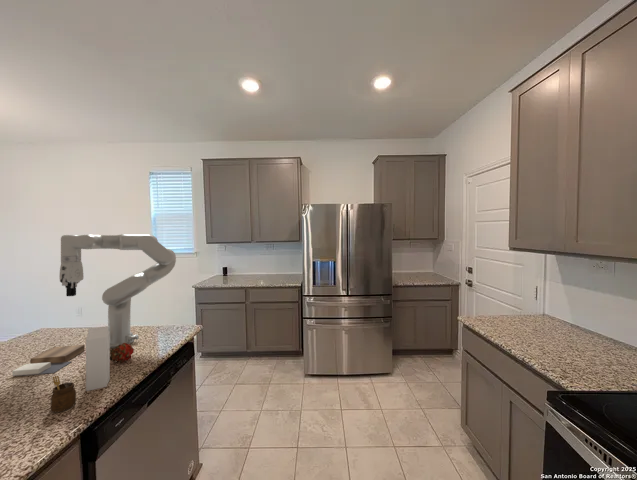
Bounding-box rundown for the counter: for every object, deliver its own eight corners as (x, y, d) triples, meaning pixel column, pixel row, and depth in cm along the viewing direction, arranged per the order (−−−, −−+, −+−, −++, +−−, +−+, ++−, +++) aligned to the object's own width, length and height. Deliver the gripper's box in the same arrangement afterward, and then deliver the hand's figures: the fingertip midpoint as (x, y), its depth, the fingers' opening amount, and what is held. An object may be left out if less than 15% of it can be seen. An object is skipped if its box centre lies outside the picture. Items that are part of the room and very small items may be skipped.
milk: (106, 387, 98) (106, 328, 98) (85, 391, 96) (85, 331, 95) (109, 379, 104) (110, 323, 104) (89, 383, 101) (90, 326, 101)
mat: (71, 362, 118) (71, 361, 118) (54, 373, 109) (54, 372, 109) (42, 364, 116) (42, 363, 116) (22, 376, 106) (22, 375, 106)
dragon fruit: (116, 371, 113) (122, 363, 124) (136, 355, 117) (140, 349, 128) (102, 357, 112) (109, 350, 123) (122, 341, 116) (127, 337, 126)
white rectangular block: (38, 368, 108) (38, 373, 108) (50, 362, 114) (50, 366, 114) (12, 370, 106) (12, 375, 106) (26, 364, 112) (26, 368, 112)
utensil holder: (80, 401, 90) (80, 366, 90) (65, 412, 84) (65, 375, 84) (60, 402, 89) (60, 367, 89) (44, 415, 83) (44, 377, 83)
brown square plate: (84, 350, 131) (84, 344, 131) (65, 362, 118) (65, 356, 118) (53, 353, 128) (53, 346, 128) (30, 365, 115) (30, 358, 115)
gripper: (69, 260, 125) (69, 298, 125) (89, 258, 140) (89, 292, 140) (50, 260, 124) (50, 299, 124) (73, 258, 139) (73, 293, 139)
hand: (71, 295), depth 132 cm, fingers closed
